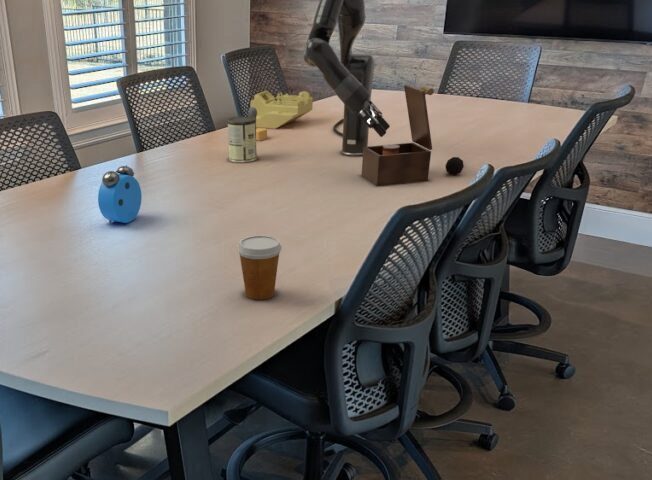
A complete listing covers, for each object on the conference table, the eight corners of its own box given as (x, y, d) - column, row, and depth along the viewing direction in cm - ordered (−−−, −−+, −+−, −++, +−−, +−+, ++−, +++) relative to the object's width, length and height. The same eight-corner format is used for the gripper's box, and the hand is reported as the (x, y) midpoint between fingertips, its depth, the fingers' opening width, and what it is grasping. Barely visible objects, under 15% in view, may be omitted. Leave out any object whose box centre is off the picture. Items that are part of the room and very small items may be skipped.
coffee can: (235, 155, 269) (234, 115, 262) (261, 156, 265) (260, 116, 258) (224, 161, 261) (222, 121, 254) (250, 163, 257) (249, 122, 250)
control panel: (244, 92, 304) (265, 80, 317) (242, 129, 314) (262, 116, 328) (296, 104, 296) (315, 91, 309) (291, 142, 306) (310, 128, 320)
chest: (376, 186, 228) (378, 156, 223) (361, 175, 239) (363, 146, 234) (427, 181, 230) (431, 151, 226) (410, 170, 241) (413, 142, 237)
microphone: (451, 170, 251) (446, 178, 234) (448, 153, 249) (443, 160, 232) (468, 166, 249) (464, 173, 232) (465, 149, 247) (461, 155, 230)
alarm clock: (127, 213, 213) (122, 162, 205) (144, 215, 210) (139, 164, 203) (100, 226, 203) (93, 173, 196) (118, 229, 201) (111, 175, 193)
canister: (377, 174, 235) (379, 145, 230) (393, 173, 236) (395, 143, 231) (384, 179, 231) (386, 148, 226) (399, 177, 232) (402, 147, 227)
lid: (422, 91, 215) (439, 85, 216) (403, 85, 227) (420, 79, 227) (430, 150, 225) (446, 144, 225) (412, 141, 236) (427, 135, 237)
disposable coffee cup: (253, 282, 165) (252, 232, 159) (289, 290, 160) (289, 239, 154) (230, 297, 159) (228, 245, 152) (266, 306, 154) (266, 253, 148)
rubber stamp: (239, 138, 293) (238, 107, 287) (247, 135, 297) (246, 104, 291) (259, 140, 288) (258, 109, 281) (267, 138, 292) (267, 106, 285)
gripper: (356, 87, 216) (392, 128, 219) (364, 79, 228) (397, 118, 230) (338, 105, 221) (373, 145, 223) (346, 97, 232) (379, 135, 235)
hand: (385, 131), depth 227 cm, fingers open, 8 cm apart
